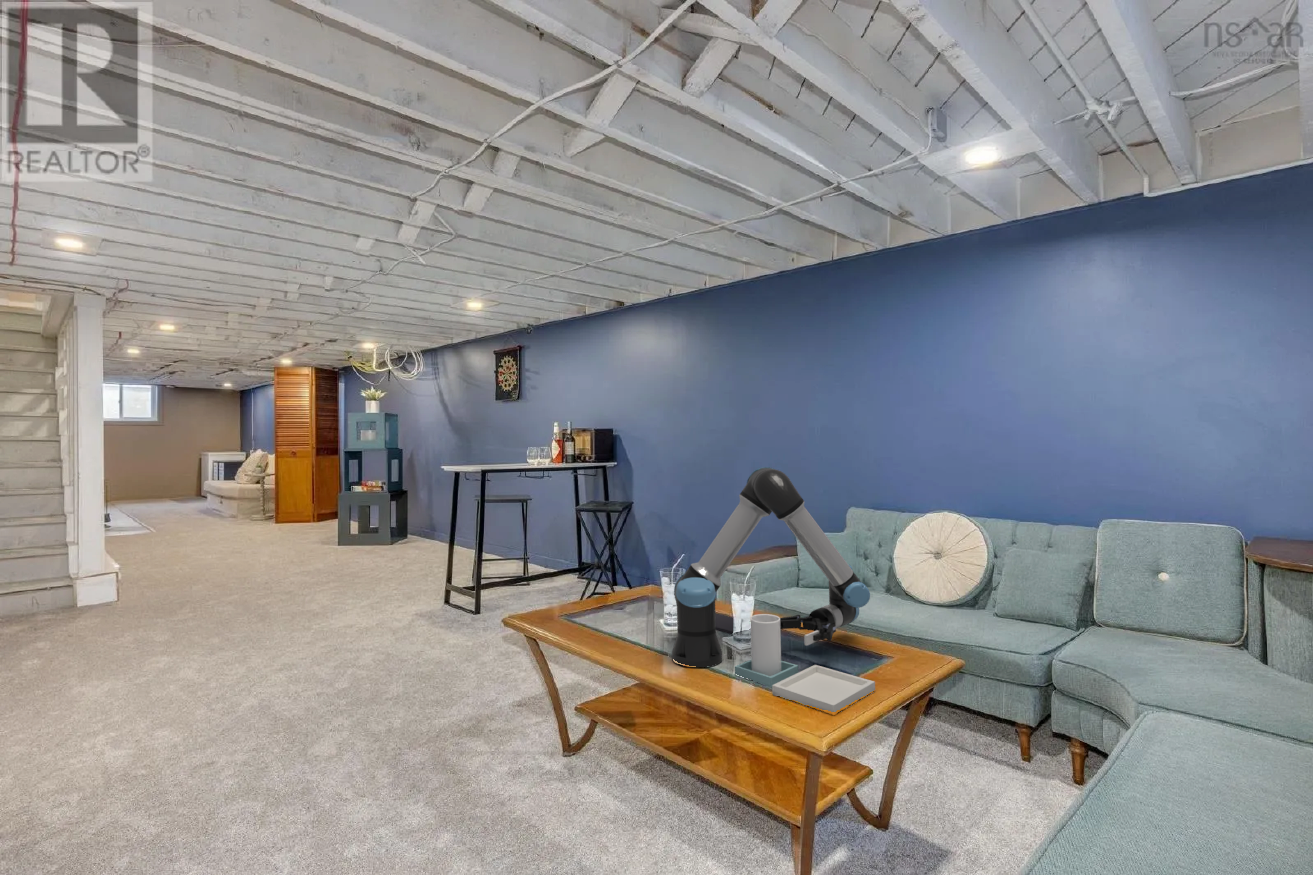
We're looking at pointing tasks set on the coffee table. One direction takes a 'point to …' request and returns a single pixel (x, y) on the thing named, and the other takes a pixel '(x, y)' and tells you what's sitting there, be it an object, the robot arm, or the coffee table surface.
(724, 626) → the dark upright panel
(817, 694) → the tray
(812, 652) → the coffee table surface
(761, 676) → the collar
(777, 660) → the cup
